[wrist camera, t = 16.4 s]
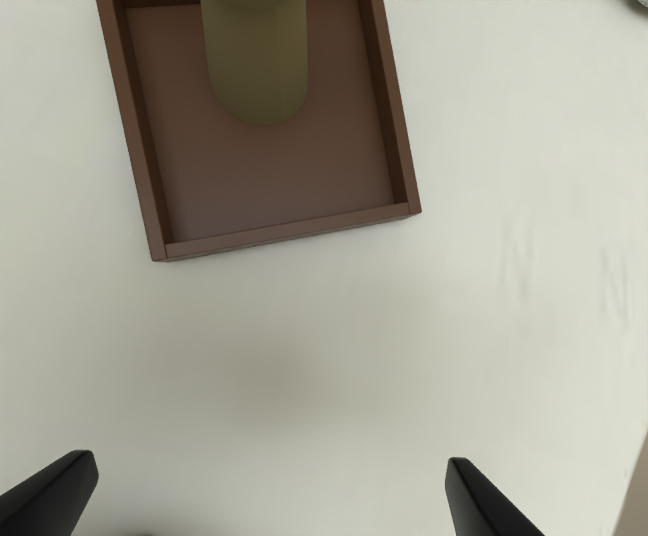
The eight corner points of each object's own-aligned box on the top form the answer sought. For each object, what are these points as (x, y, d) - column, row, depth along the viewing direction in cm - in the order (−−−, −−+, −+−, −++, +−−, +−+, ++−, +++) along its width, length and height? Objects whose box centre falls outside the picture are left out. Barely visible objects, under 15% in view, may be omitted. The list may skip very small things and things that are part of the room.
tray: (167, 262, 19) (151, 261, 17) (112, 4, 19) (87, -38, 16) (404, 218, 22) (422, 212, 19) (362, -11, 21) (374, -50, 19)
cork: (201, 29, 19) (103, -289, 8) (300, 25, 20) (333, -265, 9) (217, 130, 19) (144, -49, 8) (315, 121, 20) (365, -50, 9)
